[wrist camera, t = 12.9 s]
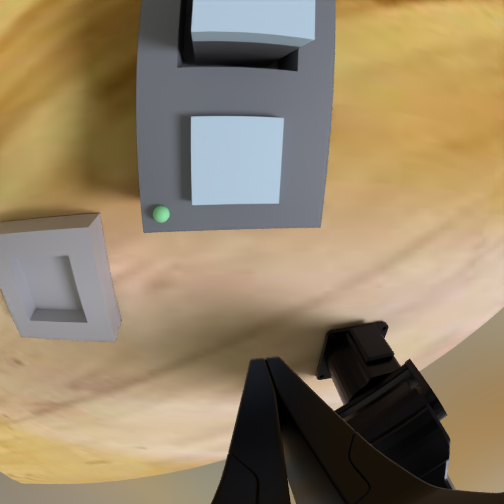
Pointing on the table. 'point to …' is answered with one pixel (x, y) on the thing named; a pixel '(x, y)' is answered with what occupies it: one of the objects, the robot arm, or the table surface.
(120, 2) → the table surface
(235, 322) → the table surface
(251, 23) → the plug
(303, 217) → the grey dispenser box
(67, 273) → the cradle
